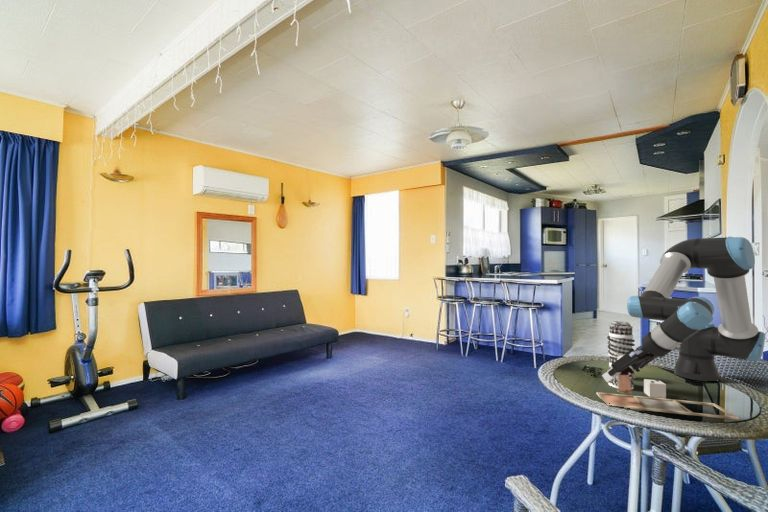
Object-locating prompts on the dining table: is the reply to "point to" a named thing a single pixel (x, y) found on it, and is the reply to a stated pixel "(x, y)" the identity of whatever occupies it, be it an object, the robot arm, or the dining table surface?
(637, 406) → the wooden flat rectangular frame
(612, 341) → the decorative candle
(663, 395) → the ivory die
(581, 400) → the dining table surface
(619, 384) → the grandmother figurine
